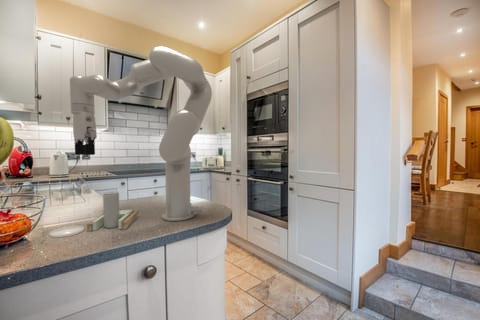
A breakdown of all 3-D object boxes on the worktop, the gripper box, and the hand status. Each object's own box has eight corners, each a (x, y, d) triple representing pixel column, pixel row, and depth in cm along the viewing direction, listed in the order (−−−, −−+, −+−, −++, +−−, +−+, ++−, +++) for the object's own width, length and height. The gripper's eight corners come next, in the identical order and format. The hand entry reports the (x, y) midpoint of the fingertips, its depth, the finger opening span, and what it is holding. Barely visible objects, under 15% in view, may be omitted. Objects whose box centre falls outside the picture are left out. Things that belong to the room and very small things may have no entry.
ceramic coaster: (89, 226, 80) (89, 224, 80) (75, 236, 71) (75, 234, 71) (60, 228, 78) (60, 226, 78) (42, 238, 69) (42, 235, 69)
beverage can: (108, 224, 83) (107, 191, 82) (122, 223, 83) (121, 191, 82) (101, 228, 78) (100, 193, 77) (116, 228, 78) (115, 193, 78)
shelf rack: (138, 216, 92) (138, 210, 92) (125, 229, 77) (125, 222, 77) (105, 218, 90) (105, 212, 90) (87, 231, 75) (86, 224, 75)
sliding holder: (133, 217, 91) (133, 209, 91) (121, 229, 77) (121, 220, 77) (109, 218, 90) (109, 210, 89) (92, 230, 76) (92, 221, 76)
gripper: (103, 109, 85) (105, 154, 86) (85, 113, 96) (86, 154, 97) (80, 106, 79) (82, 155, 80) (63, 111, 90) (65, 154, 90)
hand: (84, 154), depth 88 cm, fingers open, 9 cm apart
